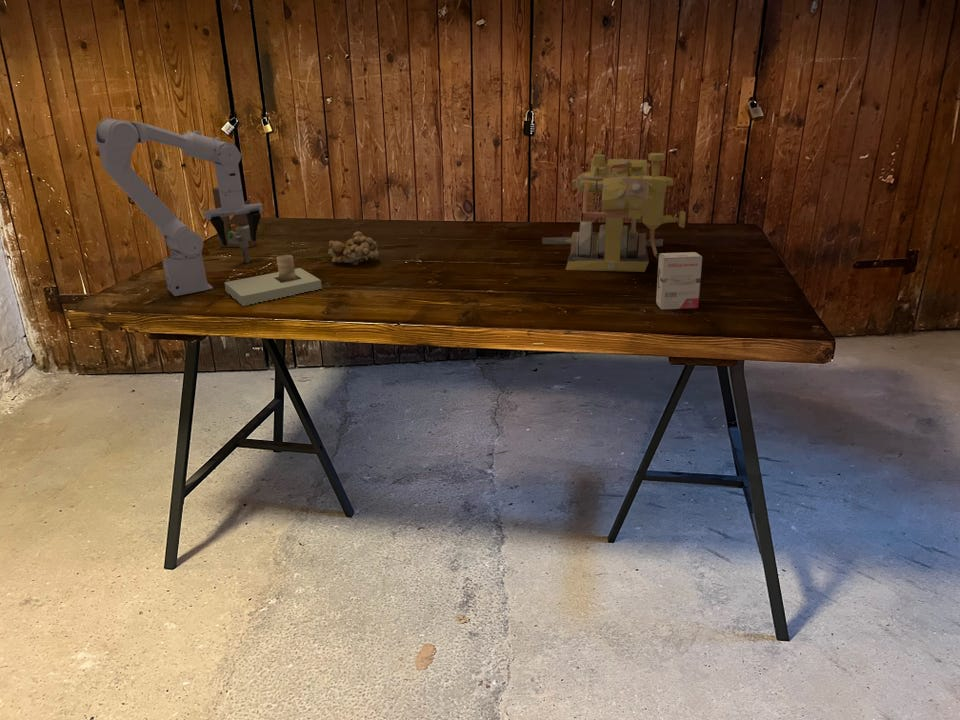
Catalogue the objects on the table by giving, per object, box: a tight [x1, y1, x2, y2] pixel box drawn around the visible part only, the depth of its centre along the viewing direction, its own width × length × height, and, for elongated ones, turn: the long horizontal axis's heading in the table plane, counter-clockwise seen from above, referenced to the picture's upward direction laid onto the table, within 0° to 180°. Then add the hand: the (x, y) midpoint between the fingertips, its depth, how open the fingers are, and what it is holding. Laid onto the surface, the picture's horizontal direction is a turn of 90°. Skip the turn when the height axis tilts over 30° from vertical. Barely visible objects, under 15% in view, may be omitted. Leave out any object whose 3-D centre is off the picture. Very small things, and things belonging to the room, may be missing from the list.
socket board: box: [223, 267, 323, 307], centre depth 180 cm, size 20×14×2 cm
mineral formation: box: [327, 231, 379, 266], centre depth 201 cm, size 8×13×15 cm
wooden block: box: [212, 186, 257, 248], centre depth 220 cm, size 4×11×18 cm, turn 83°
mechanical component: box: [226, 225, 258, 264], centre depth 204 cm, size 3×10×10 cm, turn 152°
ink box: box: [655, 251, 703, 310], centre depth 160 cm, size 9×5×12 cm, turn 92°
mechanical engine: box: [541, 148, 686, 273], centre depth 188 cm, size 39×37×30 cm
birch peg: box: [276, 254, 296, 283], centre depth 181 cm, size 4×4×8 cm
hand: (239, 242), depth 189 cm, fingers open, 7 cm apart
